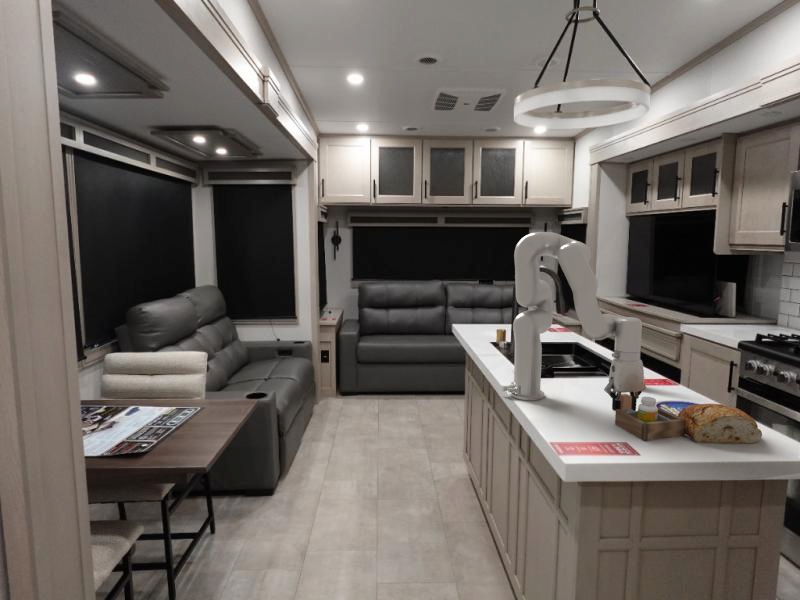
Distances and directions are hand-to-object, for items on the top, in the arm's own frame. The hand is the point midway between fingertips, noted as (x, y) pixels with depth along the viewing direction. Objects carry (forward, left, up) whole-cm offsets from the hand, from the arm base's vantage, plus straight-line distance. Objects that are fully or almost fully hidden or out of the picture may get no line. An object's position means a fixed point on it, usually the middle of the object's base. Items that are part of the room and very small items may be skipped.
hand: (623, 409), depth 160 cm
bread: (+18, -18, -3) cm, 25 cm away
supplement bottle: (0, -11, -3) cm, 11 cm away
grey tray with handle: (0, -7, -2) cm, 8 cm away
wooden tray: (0, -11, -2) cm, 11 cm away
